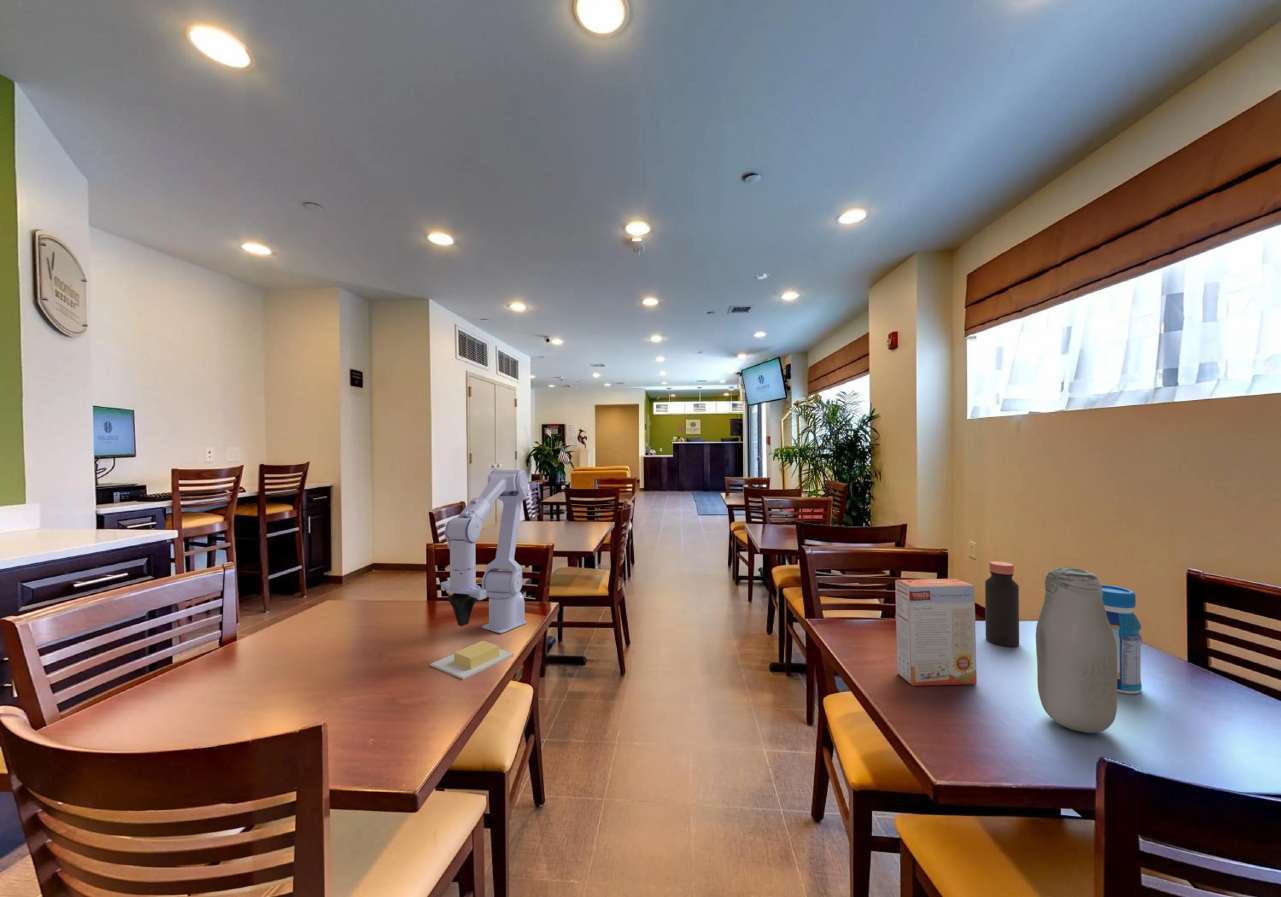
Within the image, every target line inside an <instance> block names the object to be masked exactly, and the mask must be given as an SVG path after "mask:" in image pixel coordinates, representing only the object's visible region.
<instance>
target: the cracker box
mask: <svg viewBox="0 0 1281 897" xmlns="http://www.w3.org/2000/svg"><path fill="white" fill-rule="evenodd" d="M894 584H895V585H894V586H895V592H894V593H895V622H896V623H895V630H896V635H895V636H896V669H897V670H896V673H897V674H898V676H900V677H901V678H902V679H904V680H905V681H906V682H907V683H908V684H910V685H911V686H914V687H915V686H919V687H921V686H950V685H951V686H954V685H955V686H957V685H958V686H959V685H977V675H978V674H977V643H976V642H977V641H976V640H977V636H976V605H975V604H976V600H975V599H976V598H975V596H976V595H975V585H974V584H971V583H969V582H966V581H963V580H961V579H958V578H929V579H928V578H925V579H924V578H921V579H895V580H894Z"/></svg>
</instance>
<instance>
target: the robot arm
mask: <svg viewBox="0 0 1281 897" xmlns="http://www.w3.org/2000/svg"><path fill="white" fill-rule="evenodd" d="M528 488H529V477H528V475H527V472H526V471H525V470H524V469H492V470H491V471H490V473H489V474H488V475H487V484H486V486H485V487H484V489H483V491H482V492H481V494H480V495H479V497H474V498H472V499H471V500H470V502H468V504H467V505H466V506H465V508H464V509H462V511H461V512H460V513H459V515H458V516H457V517H452V518H451V519H450V520H448V521H447V523H446V524H445V529H444V532H443V533H444V534H443V535H444V538H445V540H446V541H447V542H446V543H447V544H446V545H447V549H448V550H449V575H450V576H449V580H446V581H443V582H442V581H441V582H440V590H441V591H443V592H445V591H446V594H451V595H449V596H447V601H448V602H449V604H450V605H451V608H452V610H453V612H454V616H455V620H456V623H457V625H458V626H459V627H464V626H467V625H469V624H470V618H471V615H472V611H473V608H474V606H475V604H476V602H477V601H482V600H484V599H487V597H488V623H486V624H484V625H482V626H481V628H482V629H484V630H488V631H492V632H493V633H498V634H504V633H505V632H510V631H511V630H513V629H516V628H518V627H520V626H523V625H525V624H527V623H528V622H527V621H526V620H525V607H526V605H525V599H524V598H525V597H524V595H523V594H522V592H521V589H522V587H523V567H522V566H521V565H520V564H519V563H518V562H517V561H516V560H515V554H516V547H517V540H518V533H519V532H518V531H519V525H520V517H521V510H522V502H523V501H525V500H526V499H527V495H528ZM497 500H499V501H501V502H502V505H503V506H502V513H501V519H500V528H499V532H498V540H497V547H496V552H495V558H494V559H493V560H492V561H491V562H489V563H488V564H487V565H486V568H485V571H484V574H483V576H482V580H481V586H480V585H478V584H477V578H476V574H477V572H476V571H477V570H476V568H477V567H476V566H477V565H476V564H477V563H476V562H477V561H476V541H478V540H479V538H480V536H481V530H482V528H483V523H484V522H485V521H486V519H487V518H488V516H490V514H491V511H492V507H491V505H492V504H494V502H495V501H497Z"/></svg>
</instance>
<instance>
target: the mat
mask: <svg viewBox="0 0 1281 897" xmlns="http://www.w3.org/2000/svg"><path fill="white" fill-rule="evenodd" d="M514 656H515V653H513V652H510V651H507V650H505V649H501V648H500V656H499V657H497V658H495V659H493V660H490V661H488V662H486V663H484V664H482V665H480V666H477V667H475V668H473V669H468V668H466V667H463V666H461V665H458V664H456V663H454V653H453V654H450V655H449V656H446V657H444V658H441V659H438V660H436V661H434V662H432V663H430V667H432V668H435V669H437V670H439V671H442V672H444V673H446V674H449V675H451V676H454V677H456V678H458V679H460V680H462V681H463V680H465V679H468V678H470V677H472V676H474V675H476V674H479V673H480V672H483V671H485V670H487V669H489V668H492V667H493V666H495V665H497V664H499V663H501V662H504V661H507V660H508V659H510V658H512V657H514Z"/></svg>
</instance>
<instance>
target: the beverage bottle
mask: <svg viewBox="0 0 1281 897" xmlns="http://www.w3.org/2000/svg"><path fill="white" fill-rule="evenodd" d="M1101 586H1102V590H1103V596H1102V600H1103V603H1104V607H1105V611H1106V615H1107V618H1108V621H1109V623H1110V626H1111V628H1112V631H1113V634H1114V637H1115V641H1116V645H1117V693H1119V694H1126V695H1127V694H1128V695H1132V694H1133V695H1134V694H1139V693H1141V692H1142V686H1143V685H1142V679H1141V676H1142V675H1141V666H1142V665H1141V664H1142V663H1141V652H1142V651H1141V648H1142V647H1141V646H1142V644H1143V637H1142V636H1141V633H1140V631H1141V630H1142V624H1141V622H1140V620H1139V618H1138V617H1137V616H1136V614H1135V613H1134V612H1133V611H1132V610H1135V608H1136V605H1137V604H1136V603H1137V602H1136V598H1137V597H1136V593H1135V591H1133V590H1131V589H1128V588H1124V587H1121V586H1120V587H1119V586H1114V585H1109V584H1108V585H1107V584H1101Z"/></svg>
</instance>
